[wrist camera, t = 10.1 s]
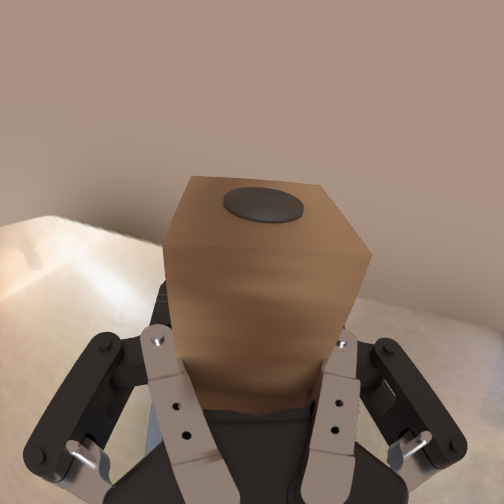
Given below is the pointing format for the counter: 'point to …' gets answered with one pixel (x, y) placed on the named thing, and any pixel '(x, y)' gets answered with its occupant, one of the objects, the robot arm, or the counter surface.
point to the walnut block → (258, 289)
